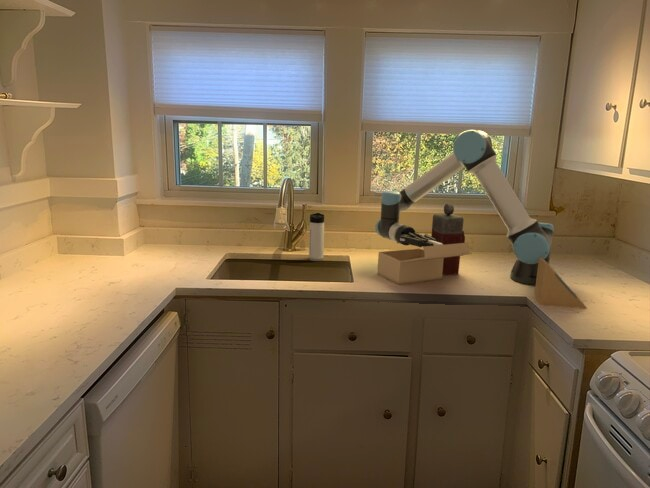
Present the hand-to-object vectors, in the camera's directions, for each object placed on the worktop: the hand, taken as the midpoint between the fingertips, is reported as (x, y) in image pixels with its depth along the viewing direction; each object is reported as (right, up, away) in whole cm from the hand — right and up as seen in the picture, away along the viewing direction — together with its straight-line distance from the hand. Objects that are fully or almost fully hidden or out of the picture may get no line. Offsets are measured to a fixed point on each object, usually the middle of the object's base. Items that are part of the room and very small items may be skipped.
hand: (441, 247), depth 175 cm
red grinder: (+8, -10, +28) cm, 31 cm away
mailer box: (-8, -11, +19) cm, 24 cm away
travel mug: (-45, -6, +41) cm, 61 cm away
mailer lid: (-2, 0, +4) cm, 4 cm away
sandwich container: (+40, -19, -6) cm, 44 cm away
